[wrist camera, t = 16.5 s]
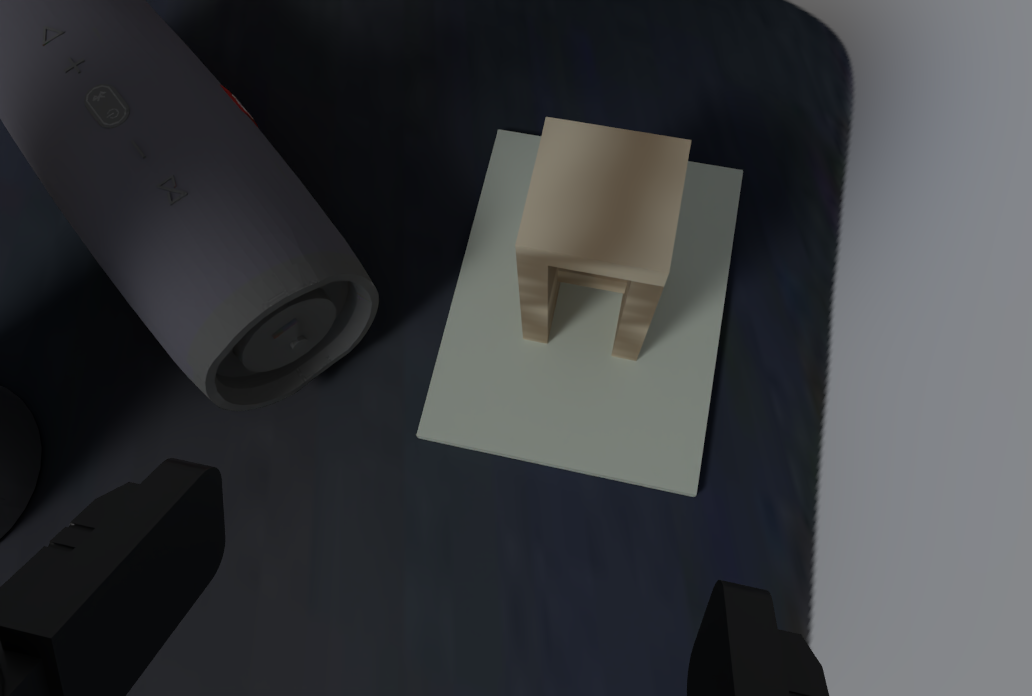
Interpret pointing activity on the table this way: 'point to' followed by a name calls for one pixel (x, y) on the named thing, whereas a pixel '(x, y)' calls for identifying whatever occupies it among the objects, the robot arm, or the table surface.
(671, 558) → the table surface
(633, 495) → the table surface
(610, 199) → the birch stool
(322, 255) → the bluetooth speaker
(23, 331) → the table surface
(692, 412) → the sage mat
